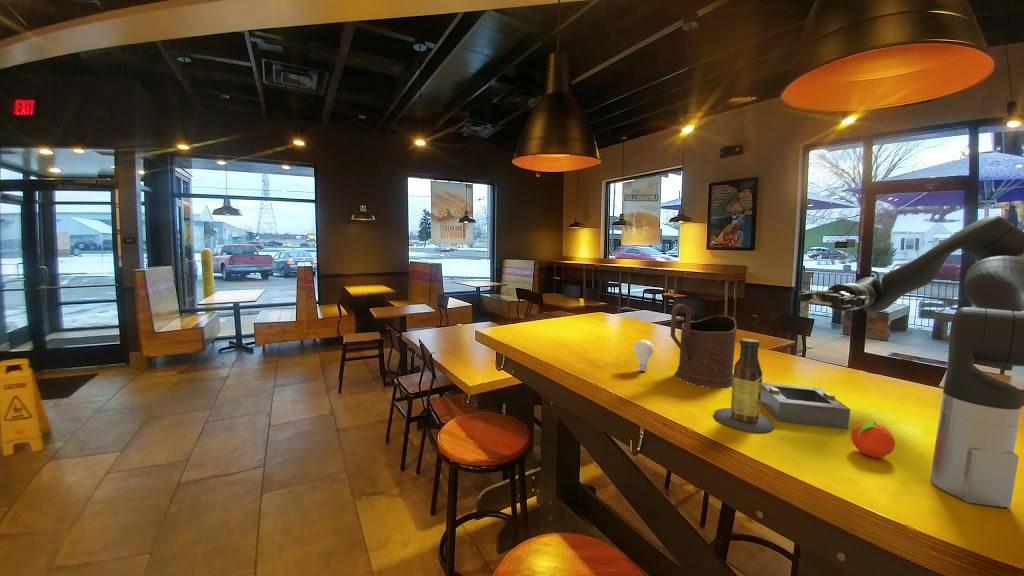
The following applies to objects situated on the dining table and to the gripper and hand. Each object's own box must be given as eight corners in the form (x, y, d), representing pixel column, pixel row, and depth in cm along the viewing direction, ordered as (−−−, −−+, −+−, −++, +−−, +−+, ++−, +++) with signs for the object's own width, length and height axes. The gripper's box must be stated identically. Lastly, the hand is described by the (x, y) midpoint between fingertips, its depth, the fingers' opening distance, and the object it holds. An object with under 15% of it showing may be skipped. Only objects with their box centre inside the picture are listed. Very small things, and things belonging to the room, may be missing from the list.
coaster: (782, 436, 95) (783, 433, 95) (720, 428, 98) (721, 426, 98) (763, 413, 107) (763, 411, 107) (709, 407, 110) (709, 405, 110)
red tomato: (873, 466, 82) (877, 432, 82) (837, 449, 89) (841, 418, 88) (901, 461, 85) (905, 428, 84) (864, 445, 91) (868, 414, 90)
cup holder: (750, 385, 129) (757, 306, 127) (691, 393, 121) (697, 309, 118) (703, 367, 147) (708, 298, 144) (648, 374, 138) (653, 300, 135)
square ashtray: (848, 429, 99) (850, 405, 99) (777, 421, 103) (780, 398, 102) (818, 405, 114) (820, 385, 113) (758, 399, 117) (759, 379, 117)
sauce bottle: (763, 425, 99) (770, 344, 96) (734, 422, 100) (741, 342, 98) (752, 414, 105) (759, 338, 103) (726, 411, 106) (732, 336, 104)
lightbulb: (628, 369, 142) (630, 338, 141) (643, 367, 145) (644, 337, 144) (641, 375, 136) (643, 342, 135) (656, 373, 139) (658, 341, 138)
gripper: (819, 281, 121) (791, 282, 113) (881, 286, 109) (854, 288, 101) (816, 306, 122) (788, 309, 114) (877, 314, 110) (851, 318, 102)
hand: (819, 299), depth 108 cm, fingers open, 8 cm apart
